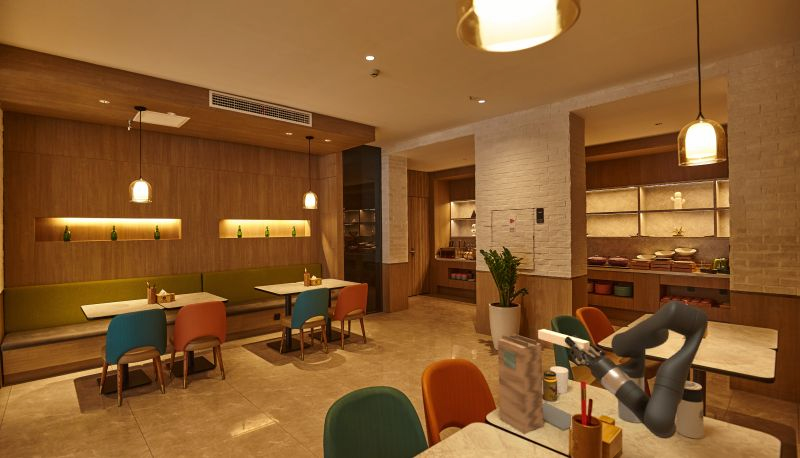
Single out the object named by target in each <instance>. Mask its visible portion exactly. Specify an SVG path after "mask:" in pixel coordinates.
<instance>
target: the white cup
mask: <svg viewBox="0 0 800 458" xmlns="http://www.w3.org/2000/svg"><path fill="white" fill-rule="evenodd" d="M549 369H550V370H549V371H554V372H555V373H556V379H557V393H558V394H560V395H563V394H567V393H568V387H569V369H568V368H566V367H563V366H558V365H557V366H550V368H549Z"/></svg>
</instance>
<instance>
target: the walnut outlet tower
mask: <svg viewBox="0 0 800 458" xmlns="http://www.w3.org/2000/svg"><path fill="white" fill-rule="evenodd" d="M501 337H502V338H501V339H497V352H498V353H497V359H498V361H497V362H498V394H499V395H498V396H499V397H498V399H499V420H500V421H502V422H503V423H505V424H507V425H509V426H511V427H512V428H513V429H515V430H517V431H519V432H520V433H522V434H524V435H526V434H528V433H530V432H531V433H532V432H533V431H536V430H538V429H541V428H544V420H543V403H544V401H543V396H542V394H543V369H542V367H543V363H542V360H543V359H542V358H543V357H542V343H540V342H538V341H537V340H535V339H533V338H532V339H531V338H528V337H525V336H522V335H520V334H516V333H513V332H511V333H510V335H505V334H502V335H501Z"/></svg>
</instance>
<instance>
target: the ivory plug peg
mask: <svg viewBox="0 0 800 458" xmlns="http://www.w3.org/2000/svg"><path fill="white" fill-rule="evenodd" d="M537 332H538V333H537V335H538V340H542V341H546V342H549V343H552V344H554V345H558V346H562V347H565V348H568V349H571V347H570V346H569V345H567V344H566V342H565V339H566V337H570V338H571V339H572V340H573V341H574V342H575V343H576V344H577V345H578V346H580V347H581V348H584V349H585V350H587V351H589V347H590V343H591V341H590V340H589V341H588V340H585V339H581V338H580V339H578V338H574V337H573V336H570V335H567V334H564V333H563V334H562V333H559V332H556V331H552V330H550V329H549V330H548V329H545V328H542V329H538V330H537ZM577 351H578V352H579V350H578V349H577Z"/></svg>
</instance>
